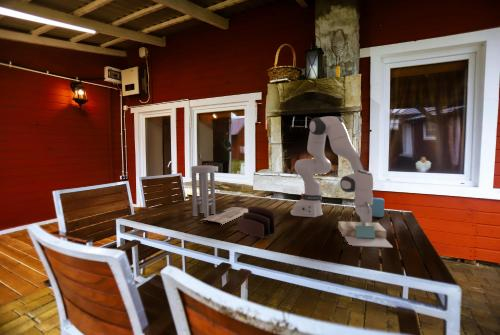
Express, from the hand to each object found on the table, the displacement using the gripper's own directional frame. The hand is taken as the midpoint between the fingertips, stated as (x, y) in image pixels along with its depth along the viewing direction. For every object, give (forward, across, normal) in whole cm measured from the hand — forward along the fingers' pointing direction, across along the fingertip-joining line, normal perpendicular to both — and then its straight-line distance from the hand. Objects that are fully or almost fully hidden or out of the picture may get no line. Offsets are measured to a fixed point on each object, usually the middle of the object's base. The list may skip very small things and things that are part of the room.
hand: (363, 225), depth 145 cm
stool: (+5, +27, +99) cm, 103 cm away
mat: (+5, -10, 0) cm, 11 cm away
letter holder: (+6, -3, +58) cm, 58 cm away
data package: (+5, +41, -17) cm, 45 cm away
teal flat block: (+2, -4, 0) cm, 4 cm away
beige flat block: (+5, +4, 0) cm, 7 cm away
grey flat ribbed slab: (+6, +27, +82) cm, 86 cm away
